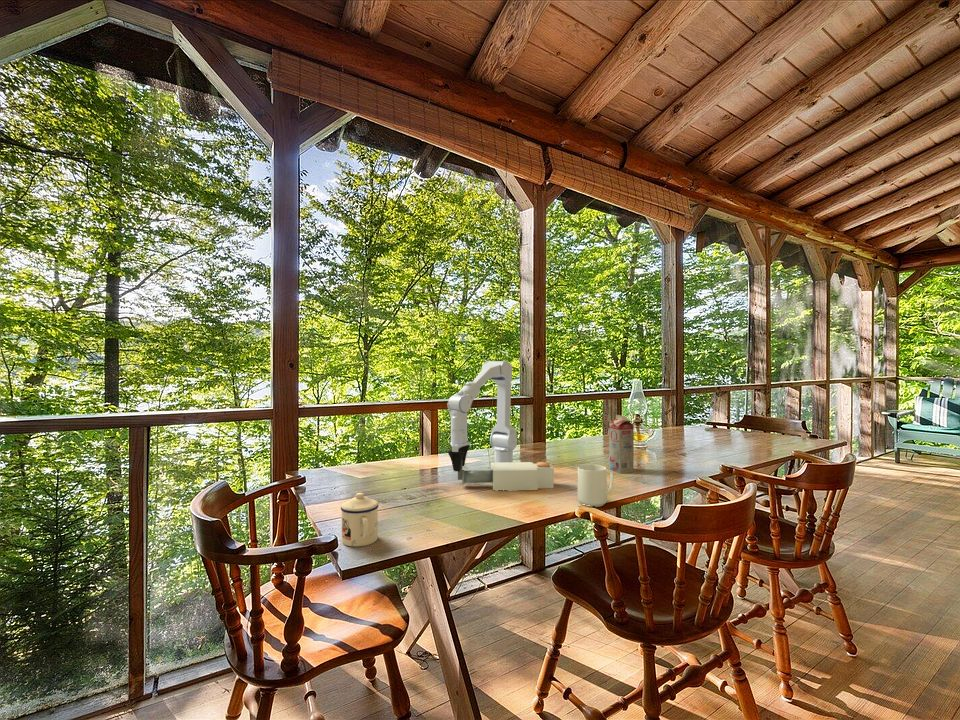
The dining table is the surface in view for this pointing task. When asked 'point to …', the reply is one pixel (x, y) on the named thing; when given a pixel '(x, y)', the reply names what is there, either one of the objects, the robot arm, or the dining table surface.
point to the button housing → (521, 476)
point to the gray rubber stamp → (475, 476)
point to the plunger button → (543, 464)
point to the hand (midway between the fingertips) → (459, 468)
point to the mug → (593, 484)
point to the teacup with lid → (359, 521)
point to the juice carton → (621, 445)
